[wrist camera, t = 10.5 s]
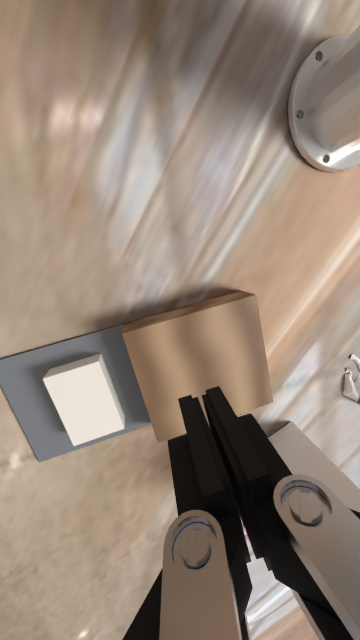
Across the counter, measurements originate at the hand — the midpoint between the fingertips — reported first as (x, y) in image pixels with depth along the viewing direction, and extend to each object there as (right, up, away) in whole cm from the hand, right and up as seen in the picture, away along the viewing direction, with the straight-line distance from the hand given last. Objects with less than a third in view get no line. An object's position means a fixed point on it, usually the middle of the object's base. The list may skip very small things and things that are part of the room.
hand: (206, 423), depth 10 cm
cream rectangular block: (-12, -5, +18) cm, 22 cm away
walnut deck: (+1, -1, +22) cm, 22 cm away
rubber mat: (-13, -5, +21) cm, 25 cm away
